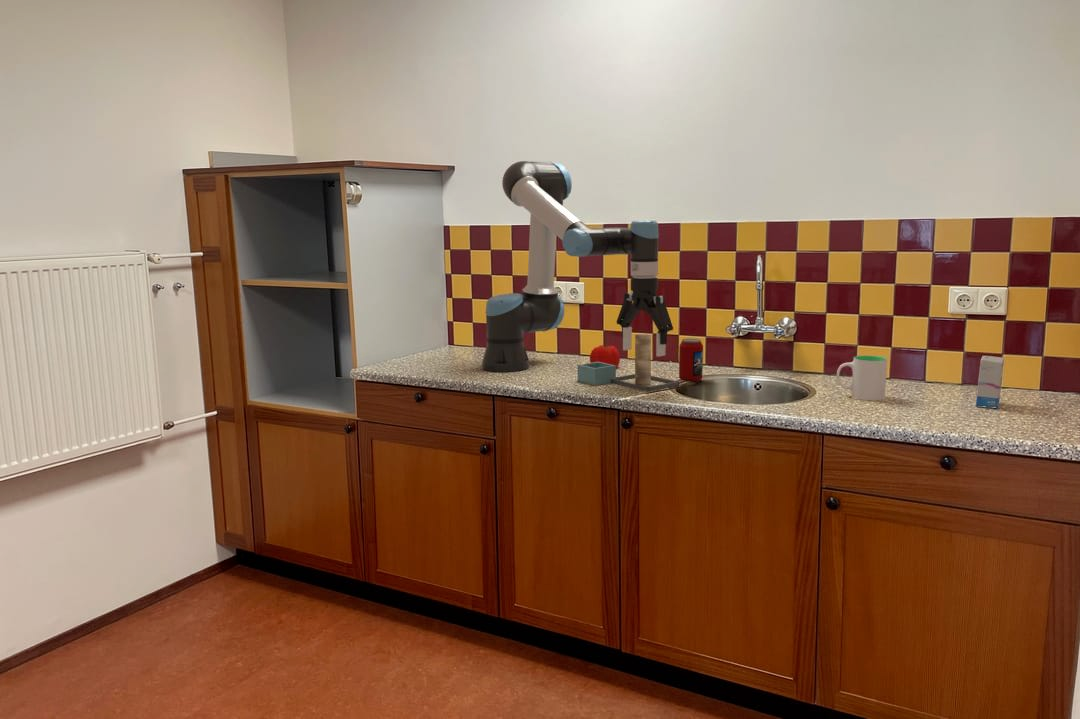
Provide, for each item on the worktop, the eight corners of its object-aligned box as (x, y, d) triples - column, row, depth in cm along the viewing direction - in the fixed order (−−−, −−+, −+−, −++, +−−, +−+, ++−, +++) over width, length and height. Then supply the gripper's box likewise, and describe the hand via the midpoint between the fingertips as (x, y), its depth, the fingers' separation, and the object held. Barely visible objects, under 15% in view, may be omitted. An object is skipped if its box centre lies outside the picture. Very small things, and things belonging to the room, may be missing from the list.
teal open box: (577, 383, 233) (577, 364, 232) (598, 380, 237) (598, 361, 236) (595, 387, 226) (594, 368, 225) (615, 384, 231) (615, 365, 230)
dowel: (631, 383, 228) (631, 335, 225) (643, 381, 231) (643, 333, 228) (642, 386, 225) (642, 337, 222) (654, 384, 227) (654, 335, 225)
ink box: (998, 409, 195) (1002, 361, 193) (975, 407, 198) (979, 359, 196) (1000, 402, 202) (1004, 356, 200) (977, 400, 205) (981, 354, 203)
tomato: (617, 366, 257) (617, 343, 256) (621, 372, 249) (621, 348, 247) (588, 367, 257) (588, 344, 256) (591, 372, 248) (590, 348, 247)
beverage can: (702, 383, 231) (703, 341, 228) (678, 382, 232) (679, 341, 230) (702, 378, 237) (703, 338, 235) (679, 378, 238) (679, 338, 236)
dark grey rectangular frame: (608, 384, 230) (608, 378, 230) (639, 379, 237) (639, 373, 237) (647, 394, 218) (647, 387, 217) (678, 387, 225) (679, 381, 224)
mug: (835, 398, 209) (837, 359, 207) (835, 392, 217) (837, 354, 215) (885, 401, 205) (887, 361, 203) (884, 395, 212) (886, 356, 211)
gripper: (604, 275, 230) (604, 348, 234) (666, 280, 210) (665, 360, 214) (623, 274, 234) (623, 346, 238) (686, 278, 214) (685, 357, 218)
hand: (643, 352), depth 226 cm, fingers open, 13 cm apart
